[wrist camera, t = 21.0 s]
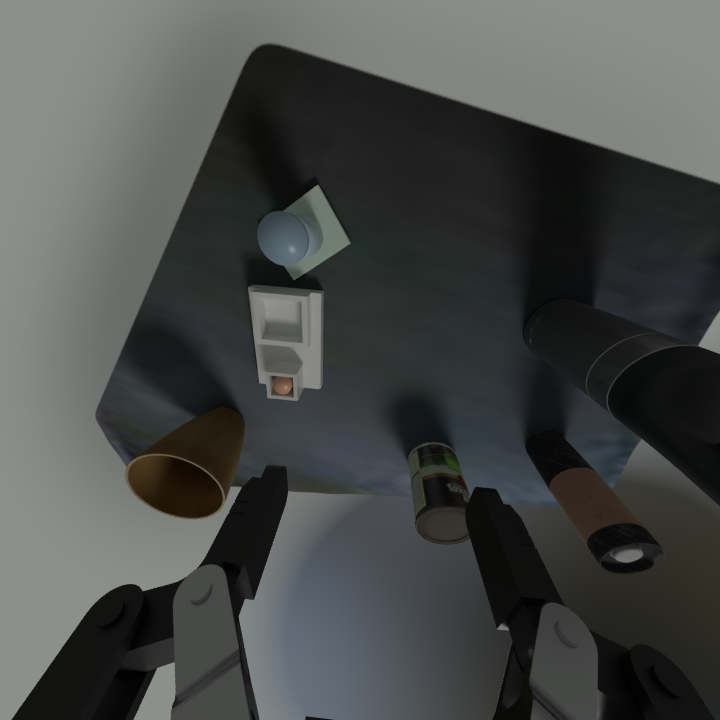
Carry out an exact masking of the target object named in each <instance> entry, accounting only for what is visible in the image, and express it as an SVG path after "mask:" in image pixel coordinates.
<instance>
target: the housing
mask: <svg viewBox="0 0 720 720" xmlns="http://www.w3.org/2000/svg"><path fill="white" fill-rule="evenodd" d="M248 291H249V299H250V308H251V316H252V324H253V333H254V341H255V349H256V358H257V366H258V374H259V383H262V384H266V386H267V396H268V398H274V399H284V400H294V401H298V399H299V397H300V395H301V393H302V390H303V388H314V389H321V386H322V383H323V297H324V291H321V290H310V289H299V288H288V287H277V286H266V285H251V286H249V287H248ZM277 376H281V377H291V378H293V387H292V388H291V390H290V392H289V393H287V394H279V393H277V392H276V391H275V390H274V388H273V382H274V380H275V379H276V377H277Z"/></svg>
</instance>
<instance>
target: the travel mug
mask: <svg viewBox="0 0 720 720" xmlns="http://www.w3.org/2000/svg"><path fill="white" fill-rule="evenodd" d="M526 451H527V453H528V455H529V457H530V458H531V460H532V462H533V463H534V465H535V467H536V468H537V470H538V472H539V473H540V475H541V477H542V478H543V480H544V481H545V483H546V485H547V486H548V488H549V490H550V491H551V493H552V494H553V496H554V497H555V499H556V500H557V502H558V503H559V505H560V506H561V508H562V509H563V511H564V512H565V514H566V515H567V517H568V518H569V520H570V521H571V523H572V524H573V526H574V527H575V529H576V530H577V532H578V533H579V535H580V536H581V538H582V539H583V541H584V542H585V544H586V545H587V547H588V548H589V550H590V551H591V553H592V554H593V556H594V557H595V559H596V560H597V562H598V563H599V565H600V566H601V567H602V568H603V569H604V570H606V571H608V572H612V573H617V574H630V573H637V572H641V571H645V570H647V569H650V568H652V567H653V565H654V559H655V558H656V557H657V556H658V555H660V554H661V555H665V552H664V550H663V548H662V547H661V546H660V545H659V543H658V542H657V541H656V540H655V539H654V538H653V537H652V536H651V534H650V533H649V532H648V531H647V530H646V528H645V527H644V526H643V525H642V524H641V523H640V522H639V520H638V519H637V518H636V517H635V516H634V515H633V514H632V512H631V511H630V510H629V509H628V508H627V507H626V506H625V504H623V502H622V501H621V500H620V499H619V498H618V496H617V495H616V494H615V493H614V492H613V491H612V489H611V488H610V487H609V486H608V485H607V484H606V483H605V481H604V480H603V479H602V478H601V477H600V476H599V475H598V473H597V472H596V471H595V470H594V469H593V468H592V467H591V466H590V465H589V464H588V463H587V462H586V461H585V460H584V459H583V457H582V456H581V455H580V454H579V453H578V452H577V451H576V450H575V449H574V448H573V447H572V446H571V445H570V444H569V443H568V442H567V441H566V440H565V439H564V437H562V436H561V435H560V434H558V433H555V432H543V433H540V434H537V435H535V436H534V437H532V438H531V439H530V440H529V441H528V443H527V445H526Z"/></svg>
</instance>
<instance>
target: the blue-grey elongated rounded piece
mask: <svg viewBox="0 0 720 720" xmlns="http://www.w3.org/2000/svg"><path fill="white" fill-rule="evenodd" d="M258 242H259V245H260V248H261V250H262V251H263V253H264V254H265V256H266V257H267V258H268V259H270V260H271V261H272V262H274V263H276V264H279V265H283V266H288V265H292V264H295V263H297V262H299V261H300V260H301V259H304V258H306V257H308V256H311V255H313V254H315V253H317V252H318V251H319V250H320V248H321V246H322V244H323V231H322V228H321V226H320V225H319V223H318V222H317V221H316V220H315V219H313V218H311V217H309V216H303V215H297V214H291V213H288V212H283V211H274V212H271V213H269V214H267V215H266V216H265V217H264V218H263V219H262V220H261V222H260V224H259V227H258Z"/></svg>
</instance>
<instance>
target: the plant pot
mask: <svg viewBox="0 0 720 720" xmlns="http://www.w3.org/2000/svg"><path fill="white" fill-rule="evenodd" d="M244 428H245V423H244V420H243V418H242V417H241V415H240V414H239V413H237V412H236V411H234V410H232V409H230V408H226V407H218V408H215V409H213V410H210V411H208V412H206V413H204V414H202V415H200V416H198V417H196V418H194V419H192V420H191V421H189V422H187V423H185V424H184V425H182V426H180V427H179V428H177V429H175V430H174V431H172V432H171V433H169V434H168V435H166V436H165V437H163V438H162V439H161V440H159V441H158V442H156V443H155V444H154V445H152V446H151V447H149V448H148V449H147V450H145V451H144V452H143V453H141V454H140V455H139V456H138V457H136V458H135V459H134V460H132V461H131V462H130V463H129V465H128V466H127V468H126V472H125V478H126V482H127V485H128V487H129V488H130V490H131V491H132V492H133V494H134V495H135V496H136V497H137V498H138V499H139V500H141V501H142V502H143V503H144V504H146V505H148V506H149V507H151V508H153V509H154V510H157V511H159V512H161V513H164V514H166V515H170V516H173V517H177V518H183V519H203V518H207V517H210V516H213V515H215V514H216V513H218V512H219V511H220V510H221V509H222V507H223V505H224V503H225V501H226V498H227V495H228V492H229V490H230V487H231V484H232V481H233V479H234V476H235V473H236V469H237V466H238V462H239V458H240V454H241V449H242V444H243V438H244Z"/></svg>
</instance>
